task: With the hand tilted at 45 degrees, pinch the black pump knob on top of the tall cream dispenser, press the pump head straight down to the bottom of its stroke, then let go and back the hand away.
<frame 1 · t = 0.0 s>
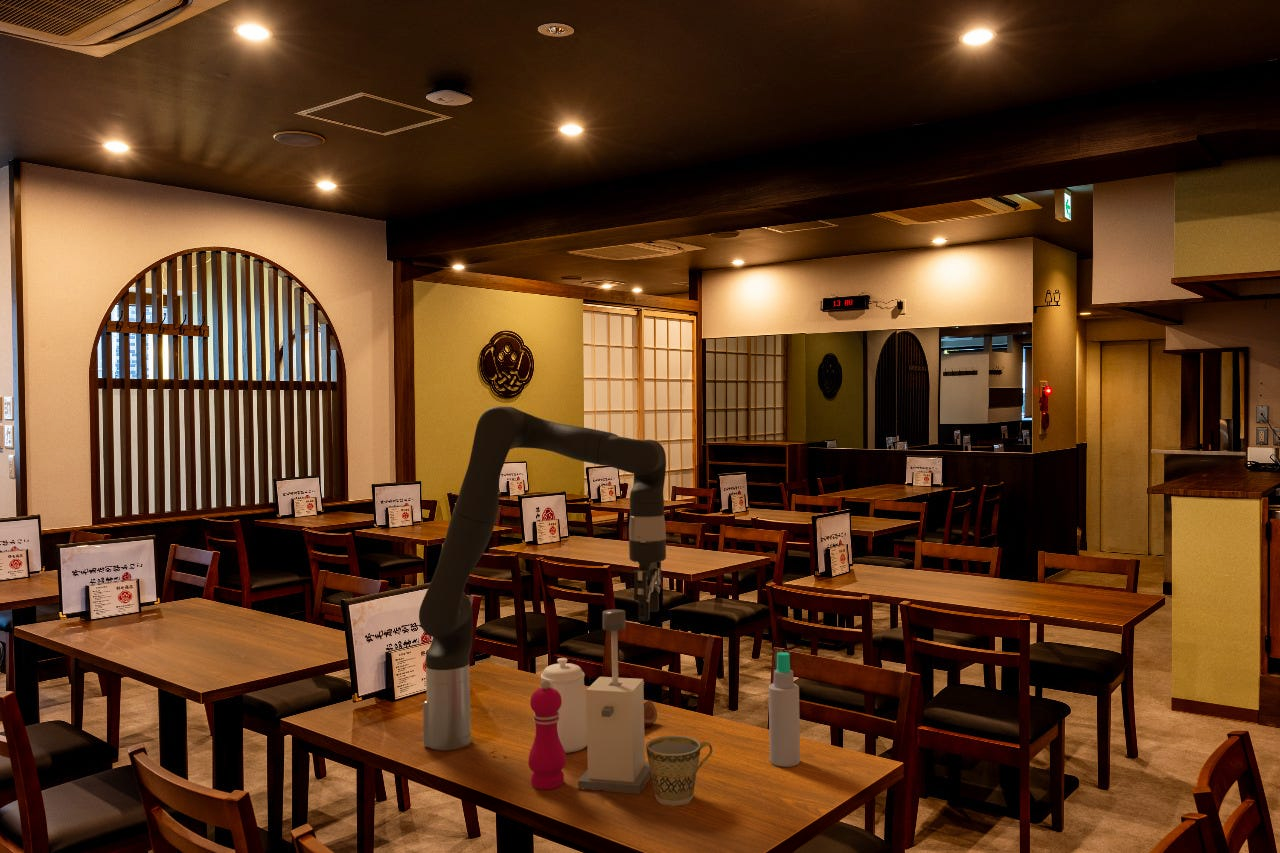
hand: (648, 616, 194), 29 cm above the table, tool pointing down, fingers open, 8 cm apart
coffeepot: (563, 747, 202), on the table
ceramic cup: (681, 798, 175), on the table
pump: (614, 664, 183), point 22 cm above the table, slide at 0.0 cm
pepper mill: (547, 784, 182), on the table
dispenser: (617, 779, 184), on the table
fruit slice: (640, 727, 215), on the table
spray bottle: (784, 763, 191), on the table
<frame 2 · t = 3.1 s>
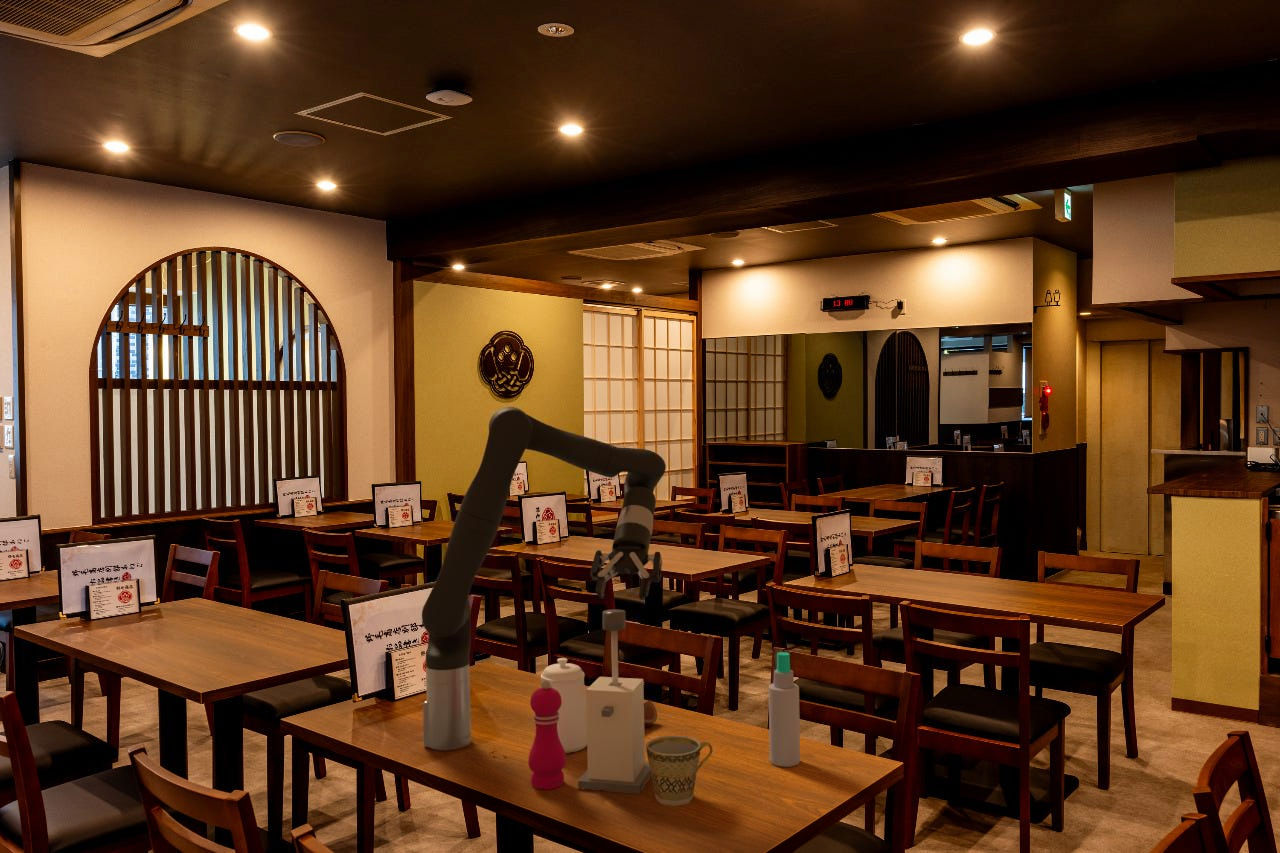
hand: (620, 596, 188), 34 cm above the table, tool tilted 45°, fingers open, 8 cm apart
nothing on the table moved.
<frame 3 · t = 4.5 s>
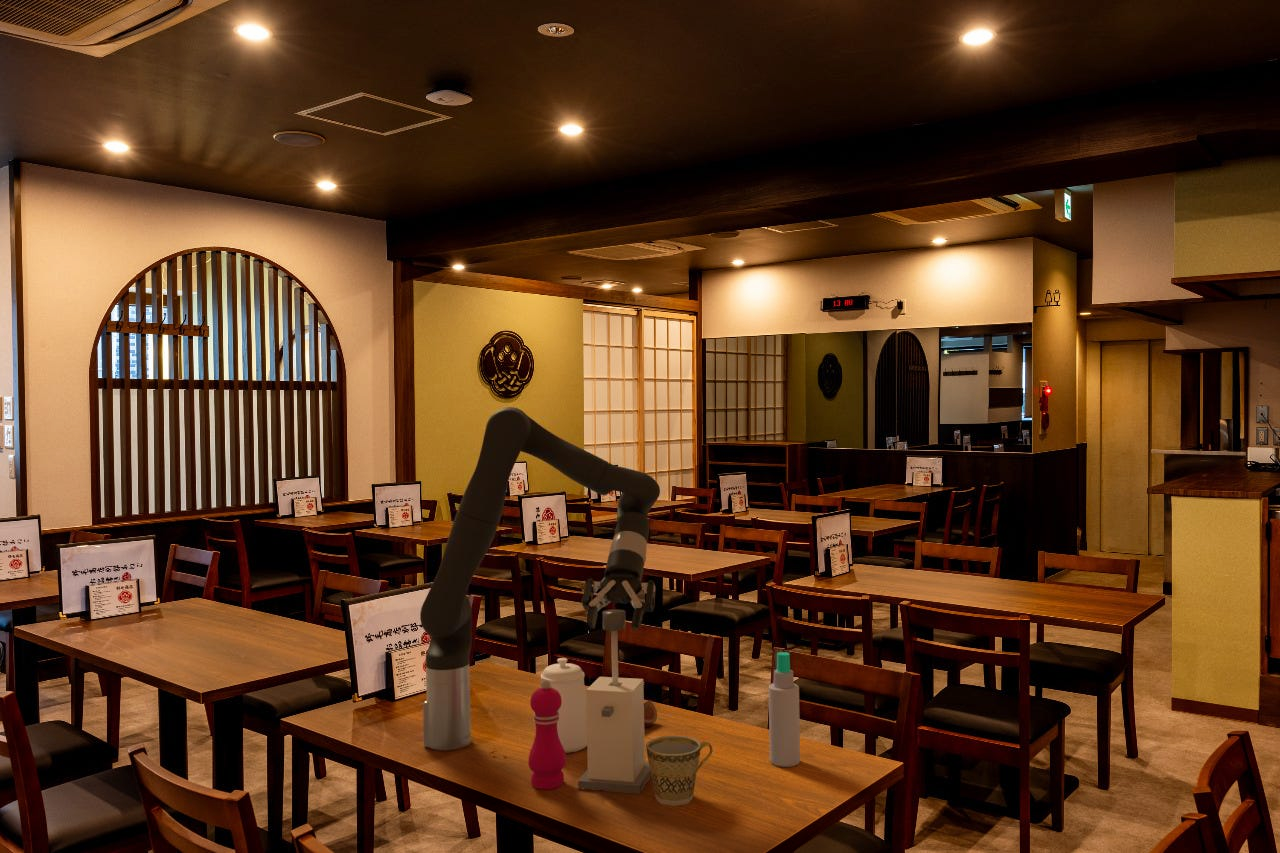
hand: (612, 627, 182), 30 cm above the table, tool tilted 45°, fingers open, 8 cm apart
nothing on the table moved.
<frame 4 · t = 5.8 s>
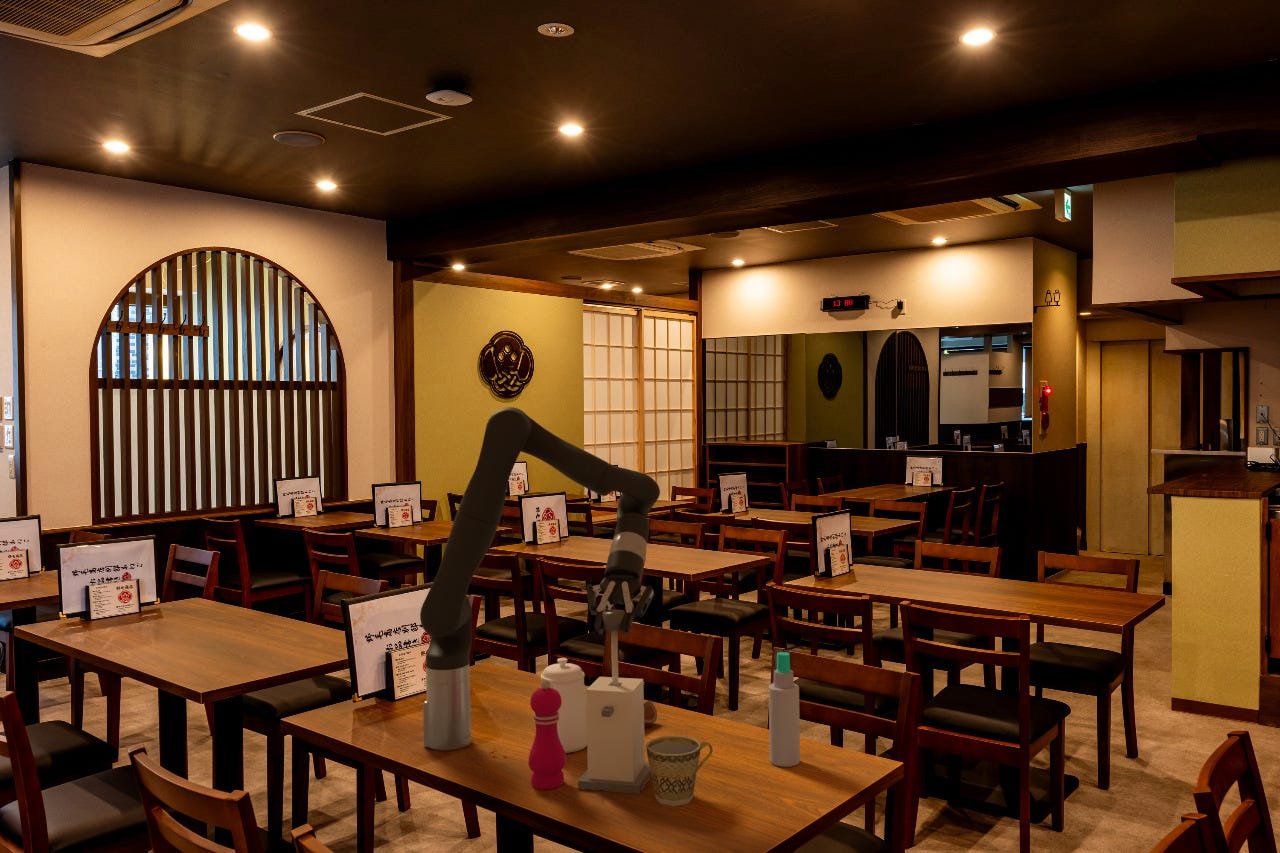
hand: (611, 632, 181), 29 cm above the table, tool tilted 45°, fingers closed on pump, 4 cm apart
pump: (614, 664, 183), point 22 cm above the table, slide at 0.0 cm, touching gripper
everything else where it was.
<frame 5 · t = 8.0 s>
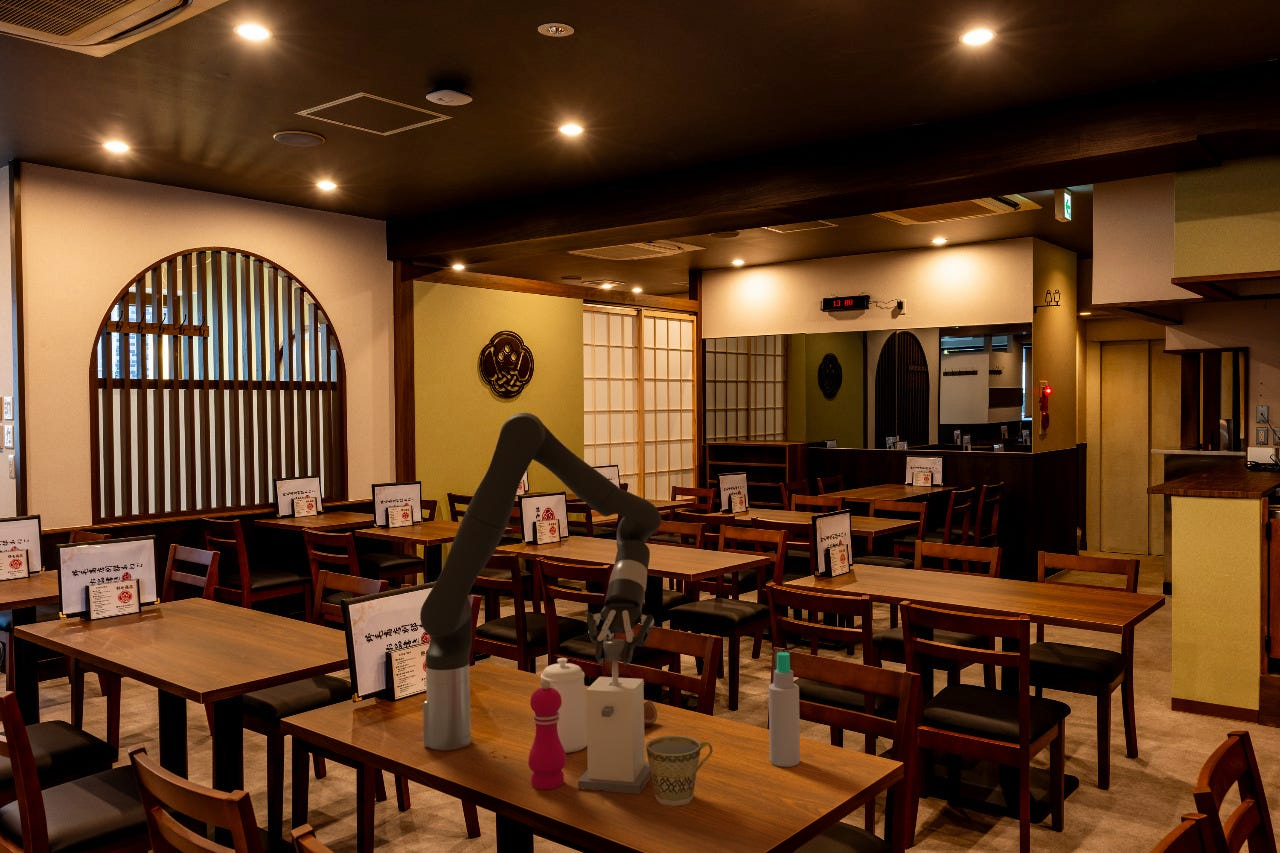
hand: (612, 661, 181), 23 cm above the table, tool tilted 45°, fingers closed on pump, 4 cm apart
pump: (615, 694, 183), point 17 cm above the table, slide at 5.7 cm, touching gripper
everything else where it was.
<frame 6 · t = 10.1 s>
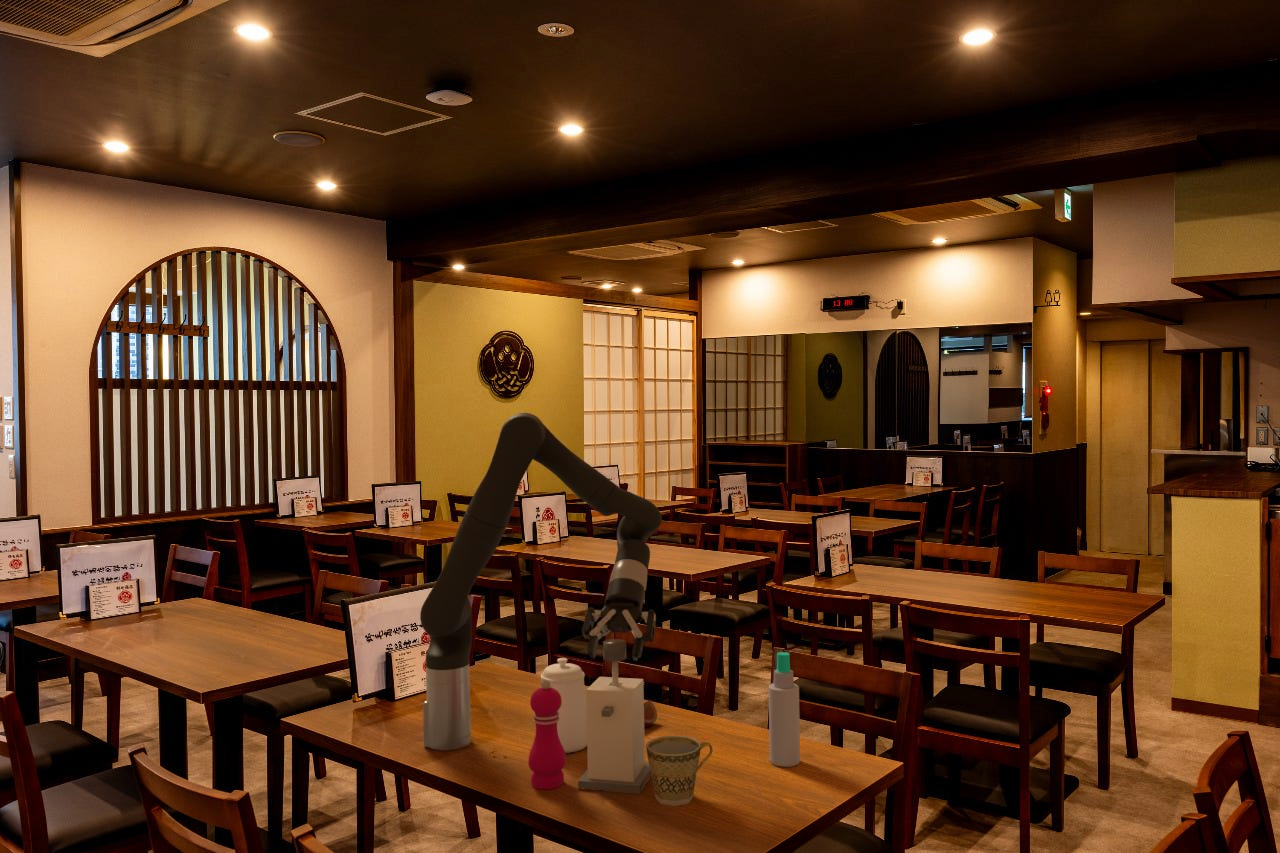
hand: (613, 657, 182), 24 cm above the table, tool tilted 45°, fingers open, 8 cm apart
pump: (615, 694, 183), point 16 cm above the table, slide at 5.8 cm
everything else where it was.
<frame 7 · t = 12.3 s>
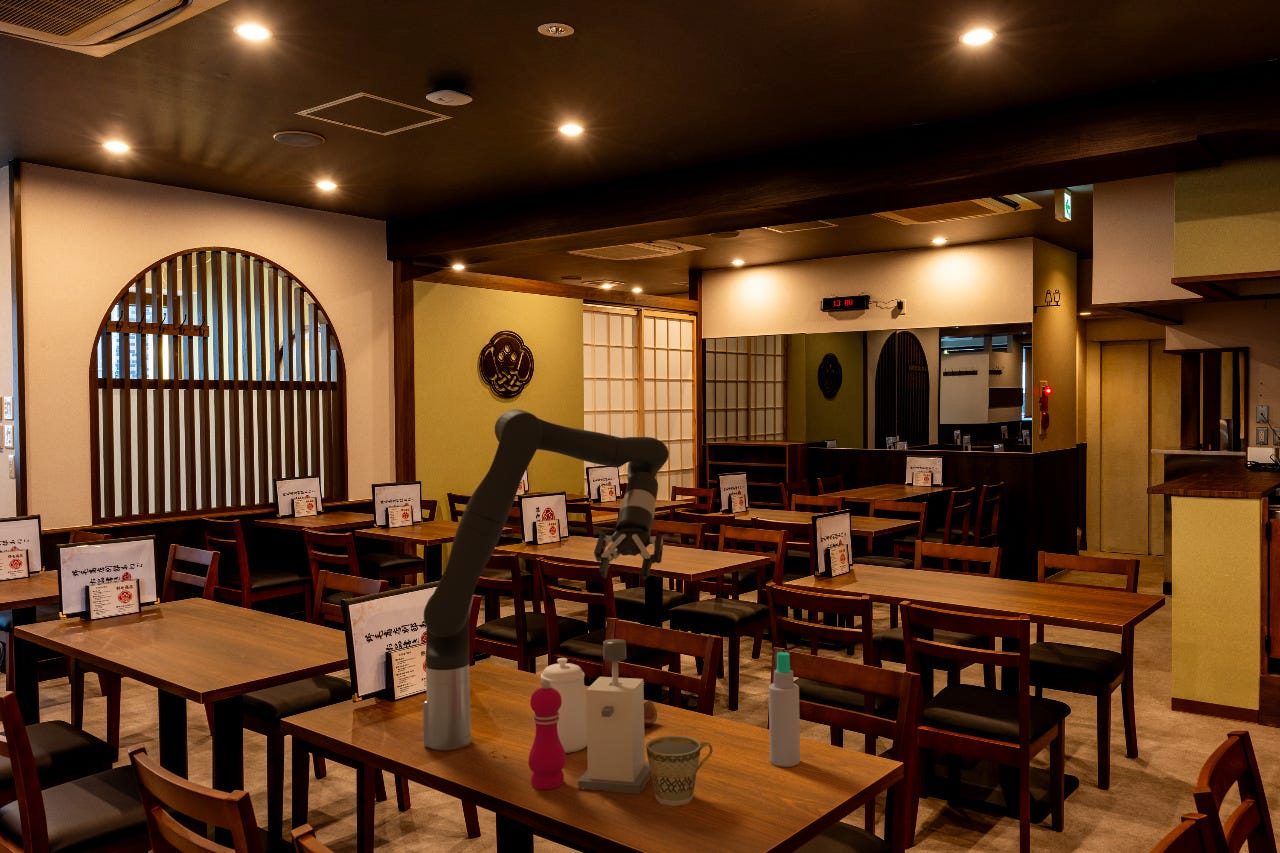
hand: (623, 576, 196), 37 cm above the table, tool tilted 45°, fingers open, 8 cm apart
nothing on the table moved.
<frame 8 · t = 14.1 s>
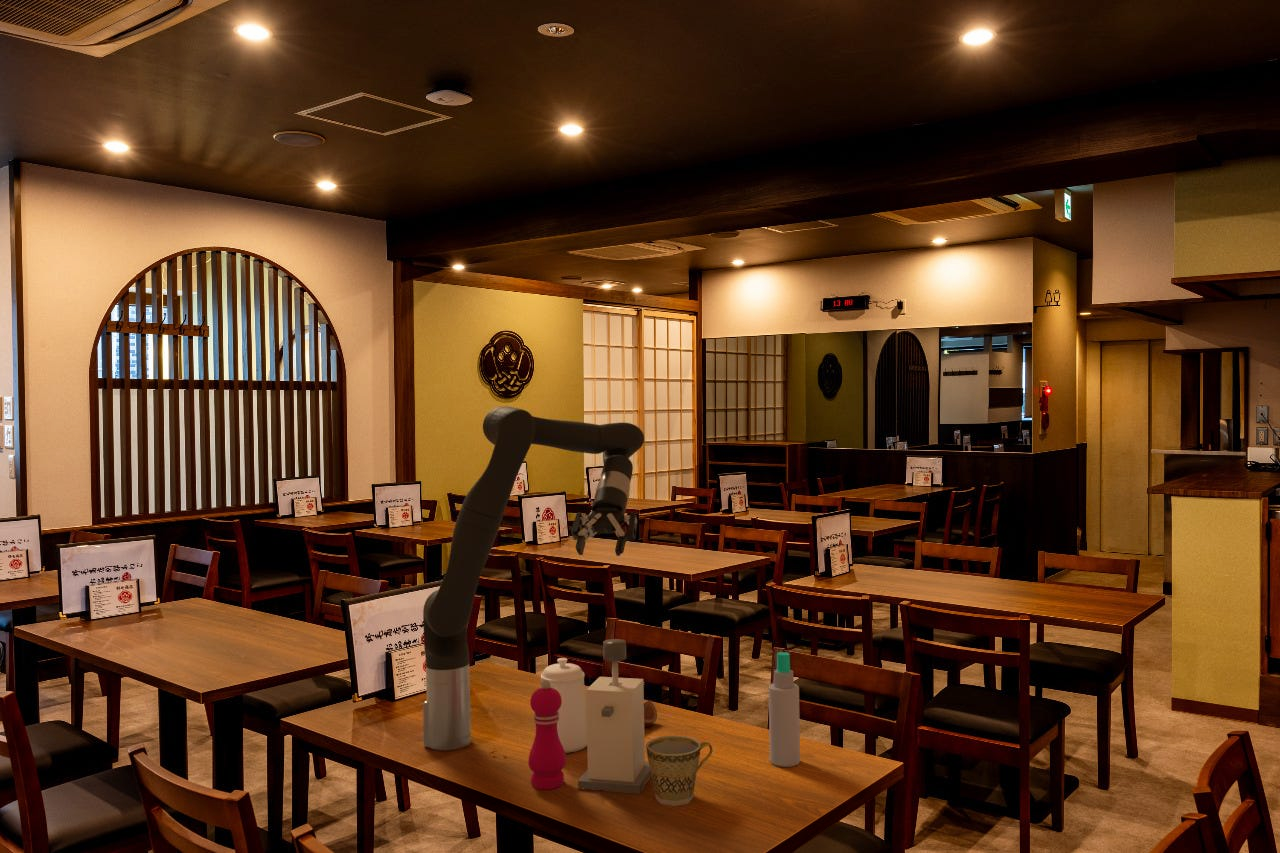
hand: (598, 553, 205), 41 cm above the table, tool tilted 45°, fingers open, 8 cm apart
nothing on the table moved.
at the end: pump slide at 5.8 cm; pepper mill moved 0.2 cm from its start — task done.
